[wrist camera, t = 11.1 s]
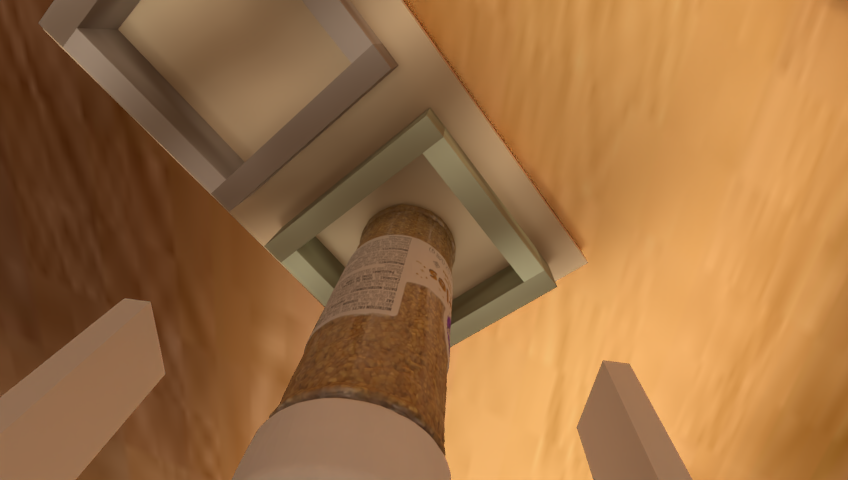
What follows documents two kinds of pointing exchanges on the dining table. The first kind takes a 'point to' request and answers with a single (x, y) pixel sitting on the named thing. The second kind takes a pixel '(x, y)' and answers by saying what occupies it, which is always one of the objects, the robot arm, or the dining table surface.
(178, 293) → the dining table surface
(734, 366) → the dining table surface
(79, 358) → the robot arm
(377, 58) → the board
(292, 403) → the sprinkles bottle
